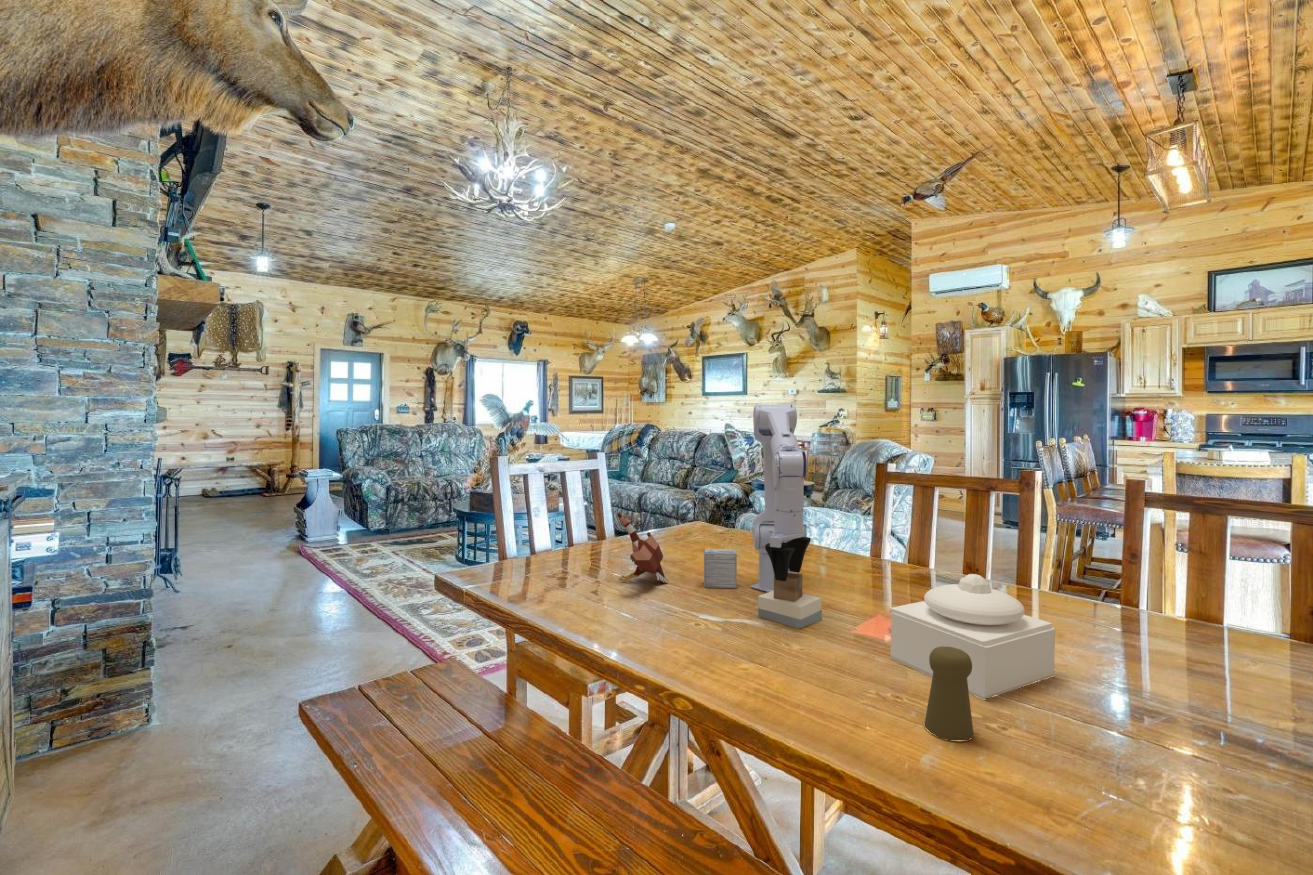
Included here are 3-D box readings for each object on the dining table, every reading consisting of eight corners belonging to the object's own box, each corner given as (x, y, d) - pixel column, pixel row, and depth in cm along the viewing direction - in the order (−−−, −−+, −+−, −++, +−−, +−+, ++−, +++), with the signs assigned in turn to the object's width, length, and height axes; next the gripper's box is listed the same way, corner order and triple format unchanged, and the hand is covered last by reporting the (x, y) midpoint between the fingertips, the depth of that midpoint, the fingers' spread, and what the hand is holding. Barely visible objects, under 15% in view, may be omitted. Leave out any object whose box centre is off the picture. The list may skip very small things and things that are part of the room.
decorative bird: (607, 552, 169) (628, 503, 168) (668, 581, 167) (690, 531, 166) (580, 581, 141) (605, 522, 140) (653, 616, 139) (679, 556, 138)
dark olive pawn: (915, 719, 86) (917, 642, 85) (957, 718, 86) (959, 640, 86) (939, 743, 80) (941, 659, 79) (983, 741, 80) (986, 658, 80)
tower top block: (779, 599, 134) (779, 588, 134) (821, 609, 127) (821, 597, 127) (758, 608, 128) (758, 596, 128) (801, 619, 121) (801, 607, 121)
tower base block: (781, 610, 134) (781, 599, 134) (821, 622, 127) (821, 610, 126) (758, 618, 129) (758, 607, 129) (798, 632, 121) (798, 619, 121)
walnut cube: (781, 592, 130) (781, 571, 130) (802, 596, 128) (802, 574, 128) (773, 598, 126) (773, 576, 126) (794, 602, 124) (795, 579, 124)
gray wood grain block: (736, 583, 152) (736, 549, 152) (736, 589, 148) (737, 553, 147) (704, 582, 153) (704, 548, 153) (703, 588, 149) (703, 552, 148)
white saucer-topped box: (984, 702, 92) (987, 596, 91) (888, 658, 108) (890, 567, 107) (1054, 678, 100) (1057, 581, 99) (955, 640, 116) (957, 556, 115)
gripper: (783, 503, 134) (782, 565, 135) (755, 513, 122) (755, 581, 123) (815, 506, 130) (814, 570, 131) (790, 516, 118) (789, 586, 119)
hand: (788, 575), depth 127 cm, fingers open, 7 cm apart
